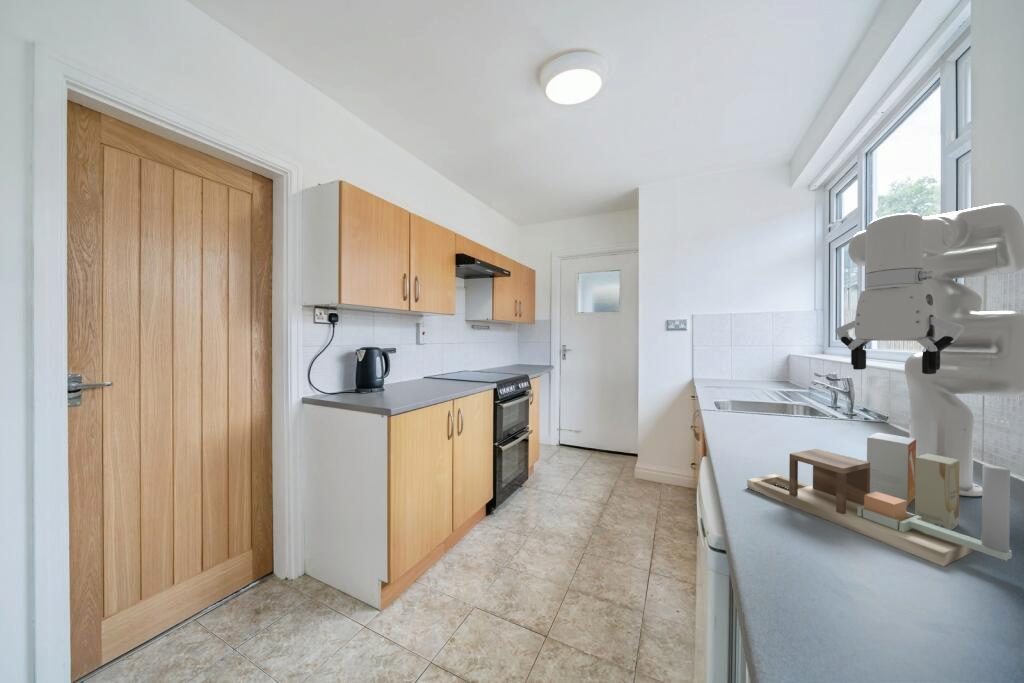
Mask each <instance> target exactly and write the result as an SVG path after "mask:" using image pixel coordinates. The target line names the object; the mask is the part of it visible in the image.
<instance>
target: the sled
mask: <svg viewBox="0 0 1024 683" xmlns="http://www.w3.org/2000/svg"><path fill="white" fill-rule="evenodd" d="M981 468H982V469H981V470H982V472H981V473H982V474H981V476H982V477H981V478H982V479H981V481H982V482H981V484H982V485H981V487H982V496H981V540H980V539H978V538H975V537H972V536H969V535H966V534H962V533H960V532H957V531H954V530H948V529H945V528H942V527H939V526H936V525H933V524H930V523H927V522H924V521H922V517H921V516H918V515H917V516H915V513H911V512H908V511H906V520H903V521H900V523H899V520H896V519H893V518H890V517H887V516H884V515H882V514H879V513H876V512H873V511H870V510H867V509H864V505H863V506H860V507H858V513H857V515H858V516H861V517H862V516H863V518H866V519H869V520H871V521H874V522H877V523H880V524H882V525H885V526H888V527H891V528H893V529H896V530H898V529H899V531H902V532H905V531H908V530H911V529H913V528H914V529H917V530H920V531H923V532H926V533H929V534H931V535H934V536H937V537H940V538H943V539H946V540H949V541H951V542H954V543H957V544H960V545H963V546H966V547H969V548H971V549H973V551H978V552H979V553H983V554H986V555H989V556H992V557H994V558H998V559H1000V560H1004V561H1008V560H1010V559H1011V558H1012V557H1013V556H1012V555H1013V554H1012V553H1013V552H1012V550H1011V549H1010V531H1011V530H1010V528H1011V526H1010V524H1011V523H1010V522H1011V520H1010V519H1011V518H1010V517H1011V470H1010V469H1009V468H1007V467H1002V466H998V465H991V464H982V467H981Z"/></svg>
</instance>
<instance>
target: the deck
mask: <svg viewBox="0 0 1024 683" xmlns="http://www.w3.org/2000/svg"><path fill="white" fill-rule="evenodd" d="M746 481H747V482H746V486H747V487H748V488H750V489H749V490H751V489H752V490H751V491H753V490H755V491H754V492H756V491H757V492H756V493H758V492H760V493H759V494H761V493H762V494H761V495H763V494H764V495H763V496H766V497H769V498H771V499H774V500H776V501H779V502H780V503H784V504H786V505H788V506H791V507H793V508H796V509H799V510H801V511H804V512H806V513H808V514H811V515H814V516H817V517H818V518H821V519H824V520H826V521H829V522H831V523H834V524H836V525H839V526H841V527H844V528H846V529H849V530H851V531H853V532H857V533H858V534H862V535H864V536H866V537H869V538H871V539H874V540H876V541H879V542H880V543H881V542H882V543H884V544H886V545H889V546H891V547H895V548H896V549H899V550H901V551H904V552H906V553H909V554H912V555H914V556H916V557H920V558H921V559H924V560H926V561H929V562H932V563H934V564H937V565H939V566H942V567H945V566H948V565H949V564H951V563H953V562H955V561H957V560H959V559H962V558H964V557H966V556H967V555H970V554H971V553H974V549H971V548H969V547H966V546H963V545H960V544H957V543H954V542H951V541H949V540H946V539H943V538H940V537H937V536H934V535H931V534H929V533H926V532H923V531H920V530H917V529H914V528H913V529H911V530H908V531H905V532H902V531H899V529H898V530H896V529H893V528H891V527H888V526H885V525H882V524H880V523H877V522H874V521H871V520H869V519H866V518H863V516H862V517H861V516H858V515H857V513H858V507H860V506H863V505H860V504H857V503H854V502H851V501H848V500H846V513H845V514H841V513H838V512H836V496H834V495H831V494H828V493H825V492H822V491H819V490H816V489H813V485H811V484H808V483H805V482H802V481H799V480H798V496H793V495H790V494H789V490H788V489H789V477H787V476H784V475H781V474H778V473H772V474H766V475H762V476H758V477H753V478H749V479H748V478H747V480H746ZM776 484H777V485H780V486H783V487H786V488H788V489H785V488H782V487H780V486H777V485H776ZM773 485H776V486H773ZM748 488H747V489H748Z"/></svg>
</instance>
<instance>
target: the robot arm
mask: <svg viewBox="0 0 1024 683" xmlns="http://www.w3.org/2000/svg"><path fill="white" fill-rule="evenodd" d="M847 251H848V255H849V258H850V260H852V262H853V263H854V264H856V265H858V266H861V267H865V268H864V274H865V276H864V277H865V278H864V288H865V289H864V290H861V291H860V294H859V298H858V301H857V306H856V310H855V317H854V320H853V321H850V322H849V323H846V324H843V325H842V326H840V327H837V328H836V329H835V330H834V332H835V333H836V335H837V337H838V338H839V339H840V341H841V343H843V344H844V345H845V346H846V347H847V348H848V349H849V350H850V352H851V353H850V365H851V366H852V369H853V370H856V371H857V370H865V369H867V350H866V349H864V348H865V347H866V346H867V345H868V344H870V342H871V341H874V342H875V341H878V342H881V341H882V342H883V341H884V342H885V341H886V342H887V341H889V342H890V341H891V342H893V341H894V342H895V341H896V342H897V341H899V342H901V341H905V342H907V341H908V342H909V341H910V342H911V341H912V342H915V341H916V342H917V343H919V345H921V346H922V347H923V348H924V349H925V351H921V352H917V353H914V354H911V355H909V356H908V357H907V359H906V360H905V363H904V375H905V378H906V382H907V387H908V394H909V395H908V397H909V438H915V439H916V457H918V456H920V455H924V454H933V455H938V456H943V457H948V458H953V459H958V460H960V463H959V496H962V497H982V485H979V484H976V483H974V480H973V479H974V477H973V476H974V423H975V422H974V420H975V419H974V414H973V412H972V410H971V408H970V407H969V406H968V405H967V404H966V403H965V402H964V401H962V400H961V399H960V398H959V397H958V396H957V395H958V394H959V395H971V396H972V395H973V396H974V395H975V396H986V397H999V398H1000V397H1001V398H1014V397H1015V398H1016V397H1020V396H1023V395H1024V313H1023V312H1020V311H1014V310H1013V311H1012V310H996V311H995V310H994V311H992V310H991V311H990V310H989V311H981V308H982V303H983V298H982V297H981V295H980V294H979V293H978V292H976V291H975V290H973V289H972V288H970V287H969V286H967V285H964V284H963V283H960V282H958V281H956V280H954V279H964V278H965V279H966V278H976V277H987V276H988V277H989V276H997V275H999V276H1000V275H1007V274H1013V273H1017V272H1020V271H1021V270H1023V269H1024V222H1023V219H1022V217H1021V214H1020V212H1019V211H1018V210H1017V209H1016V208H1015V207H1014V206H1012V205H1011V204H1008V203H1003V202H1002V203H1000V202H999V203H993V204H988V205H983V206H978V207H972V208H967V209H964V210H958V211H951V212H947V213H946V212H945V213H941V214H936V215H935V214H933V215H929V216H928V215H927V216H923V217H922V216H921V215H920V214H918V213H916V212H915V213H914V212H907V213H906V212H903V213H895V214H889V215H885V216H882V217H879V218H877V219H874V220H872V221H870V223H868V224H867V226H866V228H865V230H862V231H858V232H857V233H856V234H854V235H853V236H852V238H851V239H850V241H849V243H848V250H847ZM852 330H854V336H855V339H854V338H852V337H851V336H850V334H849V332H851V331H852Z"/></svg>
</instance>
